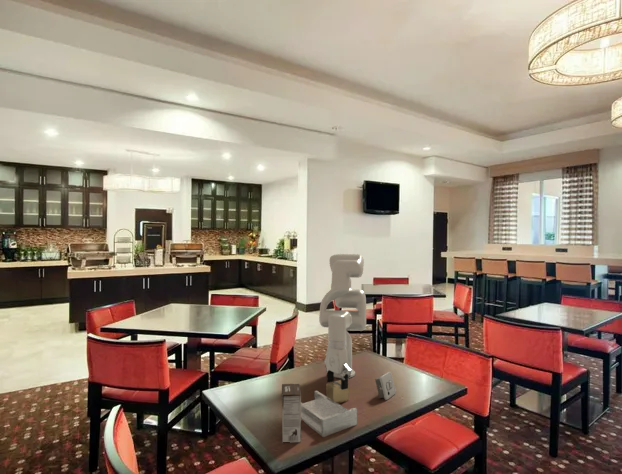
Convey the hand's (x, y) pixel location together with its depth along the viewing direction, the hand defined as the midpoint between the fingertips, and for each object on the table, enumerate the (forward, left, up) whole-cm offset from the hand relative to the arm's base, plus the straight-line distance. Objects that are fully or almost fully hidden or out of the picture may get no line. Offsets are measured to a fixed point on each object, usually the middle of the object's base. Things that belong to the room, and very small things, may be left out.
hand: (337, 385), depth 151 cm
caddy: (+7, -13, -7) cm, 17 cm away
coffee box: (+12, -29, -7) cm, 33 cm away
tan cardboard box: (-1, +1, -7) cm, 7 cm away
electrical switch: (+7, +21, -7) cm, 23 cm away
